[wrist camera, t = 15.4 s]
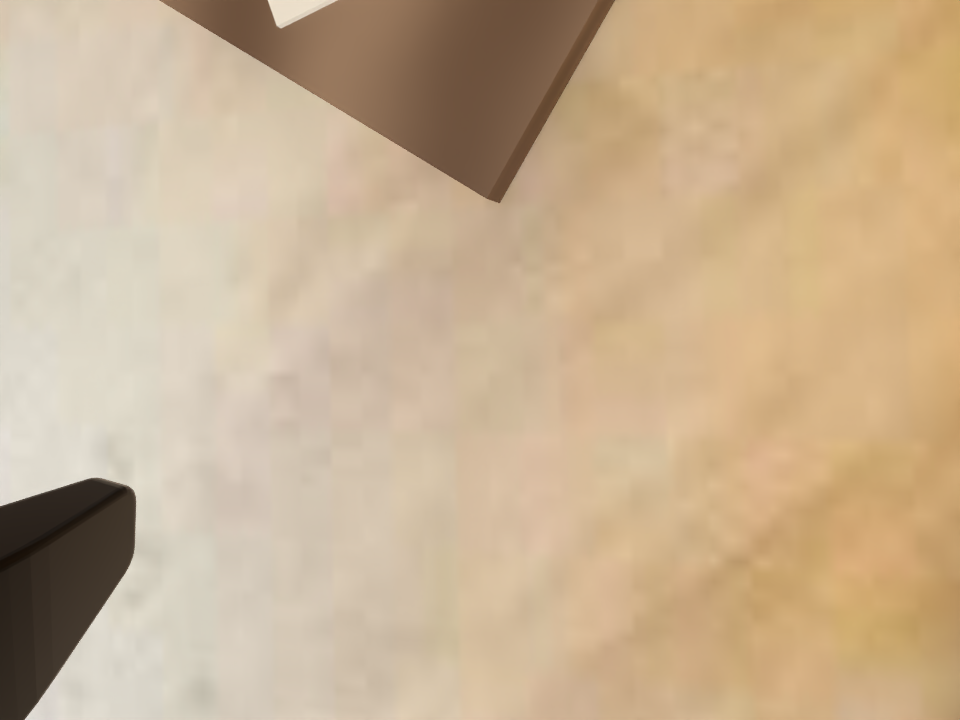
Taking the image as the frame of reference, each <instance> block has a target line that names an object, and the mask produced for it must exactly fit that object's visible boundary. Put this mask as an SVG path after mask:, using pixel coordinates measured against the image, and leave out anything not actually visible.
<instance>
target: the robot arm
mask: <svg viewBox="0 0 960 720" xmlns="http://www.w3.org/2000/svg"><path fill="white" fill-rule="evenodd" d="M135 521H136V496H135V493H134V491H133V489H131V488H130V487H129V486H127V485H123V484H120V483H116V482H113V481H109V480H106V479H102V478H90V479H86V480H83V481H80V482H77V483H73V484H70V485H67V486H64V487H61V488H57V489H54V490H51V491H48V492H45V493H41V494H38V495H35V496H32V497H29V498H25V499H22V500H19V501H16V502H13V503H9V504H6V505H3V506H0V720H25V718H26V717H27V716H28V714H29V713H30V712H31V711H32V709H33V708H34V707H35V705H36V704H37V703H38V702H39V700H40V699H41V697H42V696H43V694H44V693H45V692H46V690H47V689H48V687H49V686H50V685H51V683H52V682H53V680H54V679H55V677H56V676H57V674H58V673H59V671H60V670H61V668H62V667H63V665H64V664H65V662H66V661H67V659H68V658H69V656H70V655H71V653H72V652H73V650H74V649H75V647H76V646H77V644H78V643H79V641H80V640H81V638H82V637H83V635H84V634H85V632H86V631H87V629H88V628H89V627H90V625H91V624H92V622H93V621H94V619H95V618H96V616H97V615H98V613H99V612H100V610H101V609H102V607H103V606H104V604H105V603H106V601H107V600H108V598H109V597H110V595H111V594H112V592H113V591H114V589H115V588H116V586H117V585H118V583H119V582H120V580H121V579H122V577H123V576H124V574H125V573H126V571H127V569H128V567H129V565H130V563H131V560H132V558H133V554H134V548H135Z"/></svg>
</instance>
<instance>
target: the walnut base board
mask: <svg viewBox="0 0 960 720" xmlns="http://www.w3.org/2000/svg"><path fill="white" fill-rule="evenodd" d="M160 1H161V2H163V3H165V4H166V5H168V6H170V7H171V8H173V9H175V10H176V11H178V12H180V13H181V14H183V15H185V16H186V17H188V18H190V19H191V20H193V21H194V22H196V23H198V24H199V25H201V26H203V27H204V28H206V29H208V30H209V31H211V32H213V33H214V34H216V35H218V36H219V37H221V38H223V39H224V40H226V41H227V42H229V43H231V44H232V45H234V46H236V47H237V48H239V49H241V50H242V51H244V52H246V53H247V54H249V55H251V56H252V57H254V58H256V59H257V60H259V61H260V62H262V63H264V64H265V65H267V66H269V67H270V68H272V69H274V70H275V71H277V72H279V73H280V74H282V75H284V76H285V77H287V78H289V79H290V80H292V81H293V82H295V83H297V84H298V85H300V86H302V87H303V88H305V89H307V90H308V91H310V92H312V93H313V94H315V95H317V96H318V97H320V98H322V99H323V100H325V101H327V102H328V103H330V104H331V105H333V106H335V107H336V108H338V109H340V110H341V111H343V112H345V113H346V114H348V115H350V116H351V117H353V118H355V119H356V120H358V121H360V122H361V123H363V124H364V125H366V126H368V127H369V128H371V129H373V130H374V131H376V132H378V133H379V134H381V135H383V136H384V137H386V138H388V139H389V140H391V141H393V142H394V143H396V144H397V145H399V146H401V147H402V148H404V149H406V150H407V151H409V152H411V153H412V154H414V155H416V156H417V157H419V158H421V159H422V160H424V161H426V162H427V163H429V164H430V165H432V166H434V167H435V168H437V169H439V170H440V171H442V172H444V173H445V174H447V175H449V176H450V177H452V178H454V179H455V180H457V181H459V182H460V183H462V184H463V185H465V186H467V187H468V188H470V189H472V190H473V191H475V192H477V193H478V194H480V195H482V196H483V197H485V198H487V199H489V200H492V201H495V202H498V203H500V201H501V199H502V198H503V196H504V194H505V192H506V191H507V189H508V187H509V185H510V184H511V182H512V180H513V178H514V177H515V175H516V173H517V171H518V169H519V168H520V166H521V164H522V162H523V161H524V159H525V157H526V155H527V154H528V152H529V150H530V148H531V147H532V145H533V143H534V141H535V140H536V138H537V136H538V134H539V133H540V131H541V129H542V127H543V125H544V124H545V122H546V120H547V118H548V117H549V115H550V113H551V111H552V110H553V108H554V106H555V104H556V103H557V101H558V99H559V97H560V96H561V94H562V92H563V90H564V89H565V87H566V85H567V83H568V81H569V80H570V78H571V76H572V74H573V73H574V71H575V69H576V67H577V66H578V64H579V62H580V60H581V59H582V57H583V55H584V53H585V52H586V50H587V48H588V46H589V45H590V43H591V41H592V39H593V37H594V36H595V34H596V32H597V30H598V29H599V27H600V25H601V23H602V22H603V20H604V18H605V16H606V15H607V13H608V11H609V9H610V8H611V6H612V4H613V2H614V1H615V0H160Z"/></svg>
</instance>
